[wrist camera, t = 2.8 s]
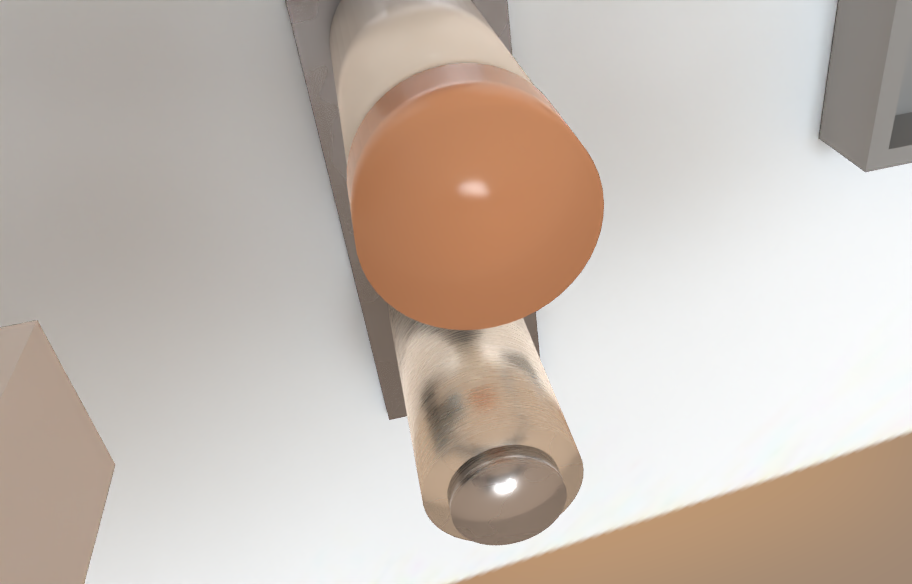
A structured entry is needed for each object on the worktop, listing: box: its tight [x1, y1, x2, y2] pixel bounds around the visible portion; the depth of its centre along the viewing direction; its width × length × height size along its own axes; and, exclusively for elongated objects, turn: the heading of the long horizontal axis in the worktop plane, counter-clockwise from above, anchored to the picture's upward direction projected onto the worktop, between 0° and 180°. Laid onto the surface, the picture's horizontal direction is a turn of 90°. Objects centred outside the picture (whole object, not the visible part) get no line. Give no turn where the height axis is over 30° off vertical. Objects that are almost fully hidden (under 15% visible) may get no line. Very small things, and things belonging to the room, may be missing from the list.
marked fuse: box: [330, 0, 604, 330], centre depth 17 cm, size 4×4×10 cm
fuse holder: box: [286, 0, 583, 545], centre depth 18 cm, size 6×26×9 cm, turn 8°
